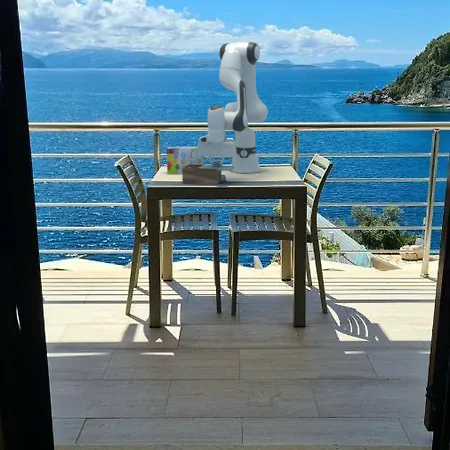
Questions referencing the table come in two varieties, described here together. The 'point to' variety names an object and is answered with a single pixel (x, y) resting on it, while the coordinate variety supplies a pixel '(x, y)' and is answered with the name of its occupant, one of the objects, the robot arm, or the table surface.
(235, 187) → the table surface
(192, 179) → the walnut box
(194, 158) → the snack box
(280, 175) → the table surface
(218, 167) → the lid
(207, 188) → the table surface
